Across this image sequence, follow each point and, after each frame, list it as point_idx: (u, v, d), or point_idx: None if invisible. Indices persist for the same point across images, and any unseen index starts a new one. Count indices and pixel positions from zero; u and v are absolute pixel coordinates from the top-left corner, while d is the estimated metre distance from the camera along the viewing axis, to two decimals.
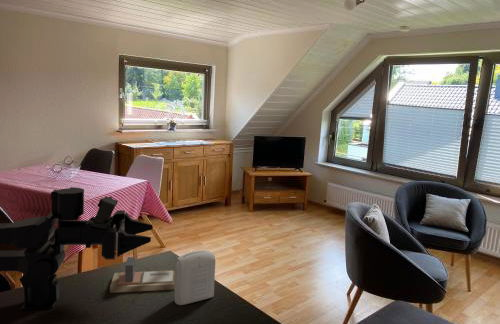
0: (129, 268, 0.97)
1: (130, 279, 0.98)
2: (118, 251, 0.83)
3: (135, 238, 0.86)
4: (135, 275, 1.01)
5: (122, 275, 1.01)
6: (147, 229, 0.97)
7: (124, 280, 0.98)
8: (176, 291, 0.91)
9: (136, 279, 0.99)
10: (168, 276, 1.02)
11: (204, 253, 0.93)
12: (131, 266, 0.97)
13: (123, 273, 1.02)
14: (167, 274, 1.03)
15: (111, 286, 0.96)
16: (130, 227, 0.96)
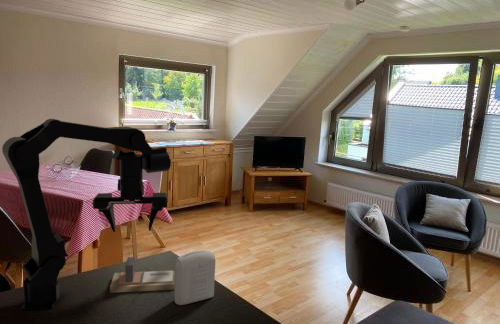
0: (129, 268, 0.97)
1: (130, 279, 0.98)
2: None
3: None
4: (135, 275, 1.01)
5: (122, 275, 1.01)
6: (114, 227, 1.01)
7: (124, 280, 0.98)
8: (176, 291, 0.91)
9: (136, 279, 0.99)
10: (168, 276, 1.02)
11: (204, 253, 0.93)
12: (131, 266, 0.97)
13: (123, 273, 1.02)
14: (167, 274, 1.03)
15: (111, 286, 0.96)
16: (112, 212, 1.01)
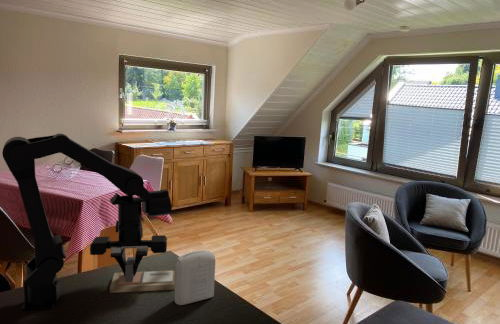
0: (129, 268, 0.97)
1: (130, 279, 0.98)
2: (147, 253, 0.98)
3: None
4: (135, 275, 1.01)
5: (122, 275, 1.01)
6: None
7: (124, 280, 0.98)
8: (176, 291, 0.91)
9: (136, 279, 0.99)
10: (168, 276, 1.02)
11: (204, 253, 0.93)
12: (131, 266, 0.97)
13: (123, 273, 1.02)
14: (167, 274, 1.03)
15: (111, 286, 0.96)
16: (124, 256, 0.99)
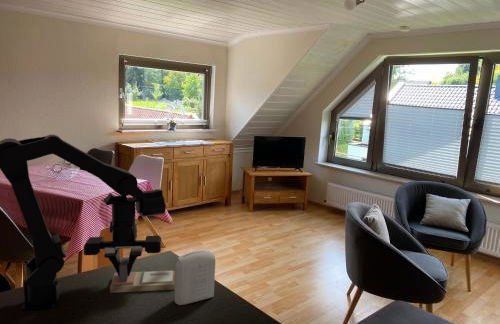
0: (123, 269, 0.97)
1: (124, 279, 0.98)
2: (141, 253, 0.98)
3: None
4: (129, 275, 1.01)
5: (116, 275, 1.01)
6: None
7: (118, 280, 0.98)
8: (176, 291, 0.91)
9: (130, 279, 0.99)
10: (168, 276, 1.02)
11: (204, 253, 0.93)
12: (125, 266, 0.97)
13: (117, 273, 1.02)
14: (167, 274, 1.03)
15: (111, 286, 0.96)
16: (118, 256, 0.98)
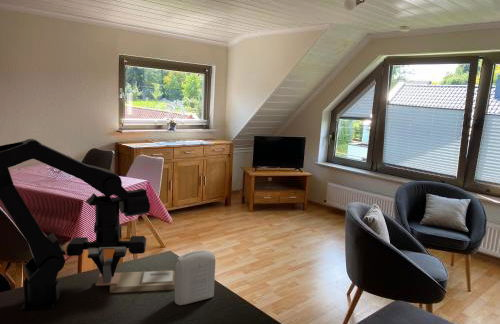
0: (107, 269, 0.96)
1: (108, 280, 0.97)
2: (125, 254, 0.97)
3: None
4: (114, 276, 1.00)
5: (100, 276, 1.00)
6: None
7: (102, 281, 0.97)
8: (176, 291, 0.91)
9: (114, 280, 0.98)
10: (168, 276, 1.02)
11: (204, 253, 0.93)
12: (109, 267, 0.96)
13: None
14: (167, 274, 1.03)
15: (111, 286, 0.96)
16: (102, 257, 0.98)
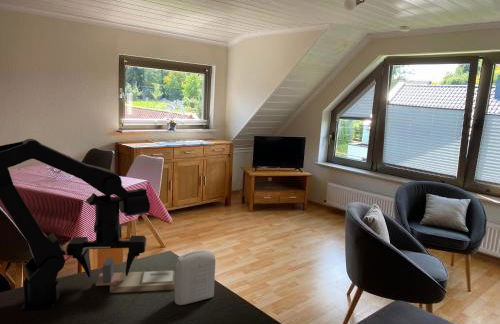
0: (107, 269, 0.96)
1: (108, 280, 0.97)
2: (139, 253, 0.98)
3: None
4: (114, 276, 1.00)
5: (100, 276, 1.00)
6: (90, 273, 0.97)
7: (102, 281, 0.97)
8: (176, 291, 0.91)
9: (114, 280, 0.98)
10: (168, 276, 1.02)
11: (204, 253, 0.93)
12: (109, 267, 0.96)
13: (102, 274, 1.01)
14: (167, 274, 1.03)
15: (111, 286, 0.96)
16: (87, 257, 0.97)
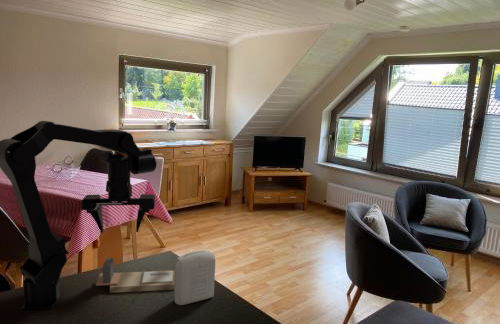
0: (107, 269, 0.96)
1: (108, 280, 0.97)
2: (149, 210, 1.03)
3: None
4: (114, 276, 1.00)
5: (100, 276, 1.00)
6: (102, 228, 1.03)
7: (102, 281, 0.97)
8: (176, 291, 0.91)
9: (114, 280, 0.98)
10: (168, 276, 1.02)
11: (204, 253, 0.93)
12: (109, 267, 0.96)
13: (102, 274, 1.01)
14: (167, 274, 1.03)
15: (111, 286, 0.96)
16: (100, 213, 1.02)
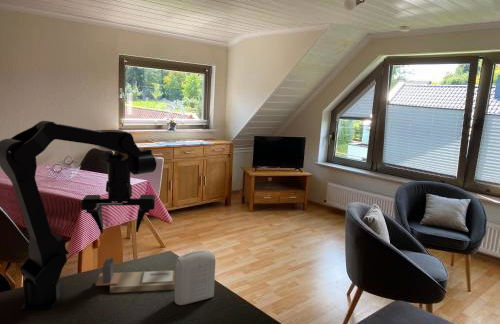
0: (107, 269, 0.96)
1: (108, 280, 0.97)
2: (149, 210, 1.04)
3: None
4: (114, 276, 1.00)
5: (100, 276, 1.00)
6: (102, 228, 1.03)
7: (102, 281, 0.97)
8: (176, 291, 0.91)
9: (114, 280, 0.98)
10: (168, 276, 1.02)
11: (204, 253, 0.93)
12: (109, 267, 0.96)
13: (102, 274, 1.01)
14: (167, 274, 1.03)
15: (111, 286, 0.96)
16: (100, 213, 1.03)
